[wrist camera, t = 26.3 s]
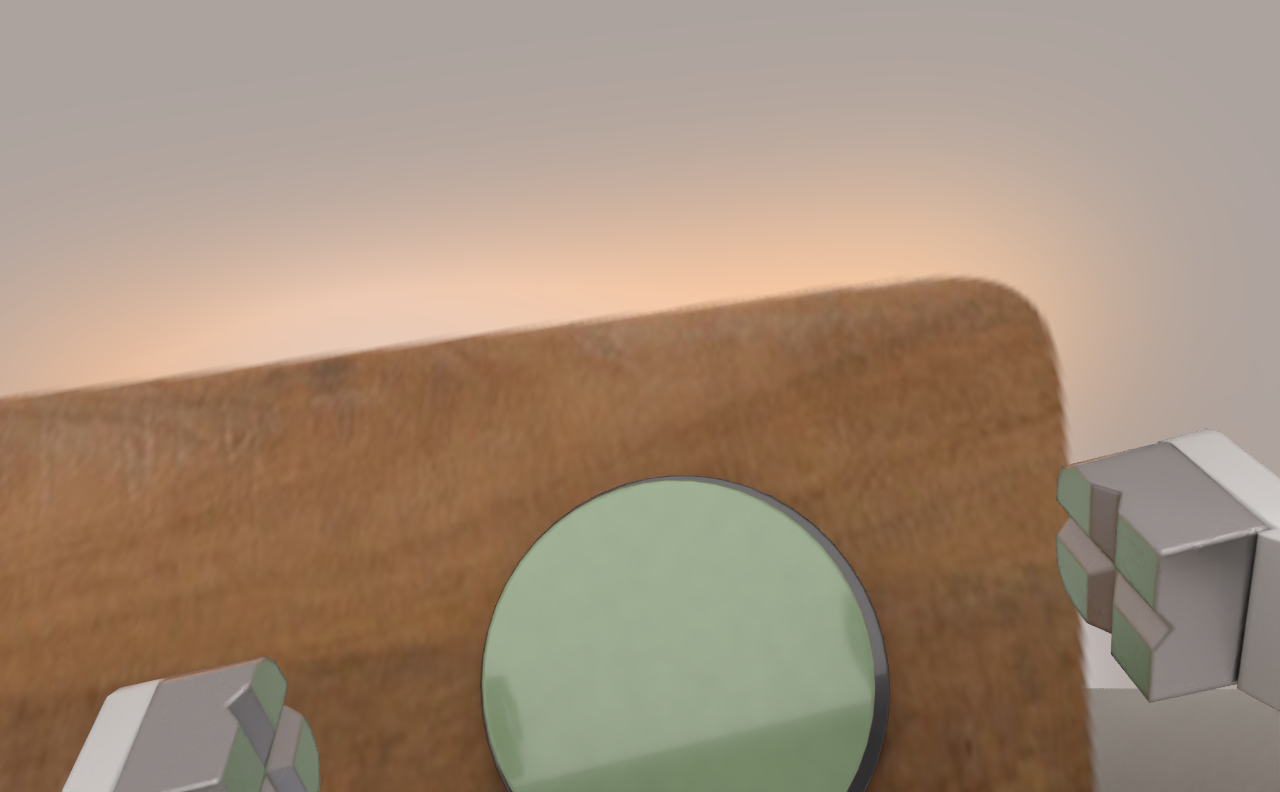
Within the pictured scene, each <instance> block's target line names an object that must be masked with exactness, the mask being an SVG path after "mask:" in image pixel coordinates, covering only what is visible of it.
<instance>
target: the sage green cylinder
mask: <svg viewBox="0 0 1280 792" xmlns="http://www.w3.org/2000/svg"><path fill="white" fill-rule="evenodd" d="M482 694H483V709H484V715H485V720H486V725H487V730H488V735H489V739H490V742H491V745H492V748H493V751H494V754H495V757H496V760H497V762H498V765H499V767H500V769H501V771H502V773H503V775H504V777H505V779H506V781H507V783H508V785H509V787H510V789H511V790H512V792H847V791H848V789H849V787H850V785H851V783H852V781H853V779H854V777H855V775H856V773H857V771H858V769H859V767H860V764H861V761H862V758H863V755H864V752H865V750H866V747H867V744H868V739H869V735H870V730H871V725H872V721H873V714H874V701H875V671H874V660H873V654H872V648H871V642H870V637H869V634H868V630H867V627H866V624H865V621H864V617H863V614H862V611H861V609H860V607H859V604H858V602H857V600H856V598H855V596H854V593H853V591H852V589H851V587H850V585H849V584H848V582H847V580H846V579H845V577H844V575H843V574H842V572H841V571H840V569H839V567H838V566H837V564H836V563H835V562H834V561H833V559H832V558H831V557H830V556H829V554H828V553H827V552H826V550H825V549H824V548H823V547H822V545H821V544H820V543H818V542H817V541H816V540H815V539H814V538H813V537H812V536H811V535H810V534H809V533H808V532H807V531H806V530H805V529H804V528H803V527H802V526H800V525H799V524H798V523H796V522H795V521H794V520H793V519H791V518H790V517H789V516H787V515H786V514H785V513H783V512H782V511H780V510H778V509H776V508H775V507H773V506H771V505H769V504H768V503H766V502H764V501H762V500H760V499H758V498H756V497H753V496H751V495H748V494H746V493H744V492H741V491H739V490H735V489H731V488H728V487H724V486H720V485H717V484H712V483H704V482H697V481H682V480H665V481H657V482H648V483H641V484H637V485H633V486H629V487H625V488H621V489H618V490H615V491H613V492H610V493H608V494H605V495H603V496H600V497H597V498H595V499H593V500H592V501H590V502H588V503H586V504H584V505H582V506H581V507H579V508H577V509H575V510H574V511H572V512H571V513H570V514H568V515H567V516H565V517H564V518H563V519H561V520H560V521H559V522H557V523H556V524H555V525H553V526H552V527H551V528H550V529H549V530H548V531H547V532H546V533H545V534H544V535H543V536H542V537H541V538H540V539H539V540H538V541H537V542H536V543H535V544H534V545H533V546H532V548H531V549H530V550H529V551H528V553H527V554H526V555H525V556H524V557H523V559H522V560H521V561H520V563H519V564H518V566H517V567H516V569H515V571H514V572H513V574H512V575H511V577H510V579H509V580H508V582H507V584H506V586H505V588H504V590H503V592H502V594H501V597H500V599H499V601H498V603H497V605H496V608H495V611H494V614H493V617H492V620H491V623H490V627H489V630H488V634H487V640H486V645H485V650H484V656H483V671H482Z"/></svg>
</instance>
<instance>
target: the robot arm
mask: <svg viewBox="0 0 1280 792" xmlns="http://www.w3.org/2000/svg"><path fill="white" fill-rule="evenodd" d="M1056 500H1057V501H1058V502H1059V504H1060V505H1061V506H1062V507H1063V508H1064V509H1065V511H1066V512H1067V513H1068V514H1069V515H1070V516H1069V517H1068V519H1067V520H1066V522H1065V523H1064V525H1063V526H1062V527H1061V529H1060V530H1059V532H1058V533H1057V535H1056V550H1057V564H1058V567H1059V571H1060V574H1061V578H1062V581H1063V585H1064V588H1065V590H1066V592H1067V594H1068V595H1069V597H1070V599H1071V601H1072V603H1073V605H1074V607H1075V608H1076V609H1077V611H1078V612H1079V613H1080V615H1081V616H1082V617H1083V619H1084V620H1085V621H1086V623H1088V624H1090V625H1093V626H1095V627H1097V628H1100V629H1102V630H1104V631H1106V632H1109V633H1111V634H1112V641H1111V655H1112V656H1113V657H1114V658H1115V660H1116V661H1117V662H1118V664H1119V665H1120V666H1121V667H1122V669H1123V670H1124V671H1125V672H1126V674H1127V675H1128V676H1129V677H1130V679H1131V680H1132V681H1133V682H1134V684H1135V685H1136V686H1137V688H1138V689H1139V690H1140V691H1141V693H1142V694H1143V695H1144V696H1145V698H1146V699H1147V700H1148V701H1149V703H1151V702H1155V701H1160V700H1165V699H1169V698H1174V697H1179V696H1183V695H1188V694H1193V693H1197V692H1202V691H1207V690H1211V689H1216V688H1221V687H1225V686H1230V685H1235V684H1237V688H1238V689H1239V690H1241V691H1243V692H1245V693H1247V694H1248V695H1250V696H1252V697H1254V698H1256V699H1258V700H1260V701H1261V702H1263V703H1265V704H1267V705H1269V706H1271V707H1273V708H1274V709H1276V710H1278V711H1280V478H1278V477H1277V476H1276V475H1275V474H1274V473H1272V472H1271V471H1270V470H1268V469H1267V468H1266V467H1264V466H1263V465H1262V464H1261V463H1259V462H1258V461H1257V460H1255V459H1254V458H1253V457H1252V456H1250V455H1249V454H1248V453H1246V452H1245V451H1244V450H1243V449H1241V448H1240V447H1239V446H1237V445H1236V444H1235V443H1233V442H1232V441H1231V440H1229V439H1228V438H1227V437H1226V436H1225V435H1223V434H1222V433H1220V432H1217V431H1214V430H1210V429H1204V430H1200V431H1196V432H1192V433H1189V434H1185V435H1181V436H1178V437H1174V438H1170V439H1166V440H1162V441H1159V442H1158V443H1157V444H1152V445H1148V446H1144V447H1140V448H1136V449H1132V450H1128V451H1123V452H1120V453H1115V454H1111V455H1107V456H1103V457H1099V458H1095V459H1091V460H1087V461H1083V462H1078V463H1074V464H1070V465H1066V466H1062V468H1061V470H1060V473H1059V476H1058V478H1057V499H1056ZM287 687H288V682H287V681H286V679H285V677H284V675H283V674H282V672H281V670H280V668H279V666H278V665H277V663H276V661H275V660H273V659H271V658H268V657H265V656H262V657H257V658H253V659H248V660H243V661H239V662H234V663H229V664H225V665H220V666H215V667H211V668H206V669H202V670H197V671H192V672H188V673H183V674H178V675H174V676H169V677H167V678H166V679H158V680H153V681H149V682H144V683H140V684H136V685H131V686H127V687H122V688H119V689H118V690H116V691H115V692H113V693H112V694H111V695H109V696H108V697H107V698H106V700H105V702H104V704H103V706H102V708H101V710H100V712H99V714H98V716H97V718H96V720H95V723H94V725H93V727H92V729H91V731H90V733H89V735H88V737H87V739H86V741H85V744H84V746H83V748H82V750H81V752H80V754H79V756H78V758H77V760H76V762H75V765H74V767H73V769H72V771H71V773H70V775H69V777H68V779H67V781H66V783H65V786H64V788H63V790H62V792H319V789H320V767H319V753H318V750H317V746H316V743H315V739H314V736H313V732H312V730H311V728H310V726H309V724H308V722H307V720H306V718H305V716H304V715H303V714H301V713H299V712H297V711H295V710H293V709H291V708H290V707H288V706H286V705H284V704H283V703H284V699H285V695H286V691H287Z"/></svg>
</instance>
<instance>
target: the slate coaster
mask: <svg viewBox="0 0 1280 792" xmlns="http://www.w3.org/2000/svg"><path fill="white" fill-rule="evenodd" d="M665 480H682V481H697V482H704V483H712V484H717V485H720V486H724V487H728V488H731V489H735V490H739V491H741V492H744V493H746V494H748V495H751V496H753V497H756V498H758V499H760V500H762V501H764V502H766V503H768V504H769V505H771V506H773V507H775V508H776V509H778V510H780V511H782V512H783V513H785V514H786V515H787V516H789V517H790V518H791V519H793V520H794V521H795V522H796V523H798V524H799V525H800V526H802V527H803V528H804V529H805V530H806V531H807V532H808V533H809V534H810V535H811V536H812V537H813V538H814V539H815V540H816V541H817V542H818V543H820V544H821V545H822V547H823V548H824V549H825V550H826V552H827V553H828V554H829V556H830V557H831V558H832V559H833V561H834V562H835V563H836V564H837V566H838V567H839V569H840V571H841V572H842V574H843V575H844V577H845V579H846V580H847V582H848V584H849V585H850V587H851V589H852V591H853V593H854V596H855V598H856V600H857V602H858V604H859V607H860V609H861V611H862V614H863V617H864V621H865V624H866V627H867V630H868V634H869V637H870V642H871V648H872V654H873V660H874V671H875V701H874V714H873V721H872V725H871V730H870V735H869V739H868V744H867V747H866V750H865V752H864V755H863V758H862V761H861V764H860V767H859V769H858V771H857V773H856V775H855V777H854V779H853V781H852V783H851V785H850V787H849V789H848V791H847V792H865V791H866V789H867V787H868V785H869V783H870V781H871V779H872V777H873V774H874V771H875V768H876V765H877V763H878V760H879V757H880V754H881V751H882V747H883V743H884V738H885V733H886V728H887V723H888V713H889V700H890V684H889V666H888V660H887V654H886V649H885V643H884V638H883V635H882V631H881V628H880V625H879V622H878V619H877V615H876V612H875V610H874V608H873V605H872V603H871V601H870V599H869V597H868V595H867V592H866V590H865V588H864V586H863V584H862V583H861V581H860V580H859V578H858V576H857V575H856V573H855V571H854V570H853V568H852V567H851V565H850V563H849V562H848V561H847V560H846V558H845V557H844V556H843V555H842V553H841V552H840V551H839V550H838V549H837V547H836V546H835V545H834V544H833V542H832V541H831V540H830V539H828V538H827V537H826V536H825V535H824V534H823V533H822V532H821V531H820V530H819V529H818V528H817V527H816V526H815V525H814V524H813V523H811V522H810V521H809V520H807V519H806V518H805V517H803V516H802V515H801V514H799V513H798V512H797V511H795V510H794V509H793V508H791V507H789V506H787V505H786V504H784V503H782V502H780V501H779V500H777V499H775V498H773V497H772V496H770V495H767V494H765V493H762V492H760V491H757V490H755V489H753V488H750V487H748V486H745V485H741V484H737V483H733V482H730V481H726V480H722V479H715V478H708V477H701V476H665V477H657V478H649V479H644V480H640V481H636V482H632V483H628V484H624V485H621V486H618V487H616V488H613V489H611V490H608V491H606V492H603V493H601V494H598V495H596V496H595V497H593V498H591V499H589V500H587V501H586V502H584V503H582V504H580V505H578V506H577V507H575V508H574V509H572V510H571V511H570V512H568V513H567V514H566V515H564V516H563V517H561V518H560V519H559V520H557V521H556V522H555V523H554V524H553V525H555V524H556V523H557V522H559V521H560V520H561V519H563V518H564V517H565V516H567V515H568V514H570V513H571V512H572V511H574V510H575V509H577V508H579V507H581V506H582V505H584V504H586V503H588V502H590V501H592V500H593V499H595V498H597V497H600V496H603V495H605V494H608V493H610V492H613V491H615V490H618V489H621V488H625V487H629V486H633V485H637V484H641V483H648V482H657V481H665ZM553 525H552V526H553ZM552 526H551V527H552ZM551 527H550V528H551ZM550 528H549V529H550ZM549 529H548V530H549ZM548 530H546V531H545V532H544V533H543V534H542V535H541V536H540V537H539V538H538V539H537V540H536V541H535V542H534V544H535V543H536V542H537V541H538V540H539V539H540V538H541V537H542V536H543V535H544V534H545V533H546V532H547V531H548ZM534 544H533V545H534ZM533 545H532V546H533ZM532 546H531V547H530V549H531V548H532ZM530 549H529V550H530ZM529 550H528V551H529ZM528 551H527V552H526V554H527V553H528ZM526 554H525V555H526ZM525 555H524V556H525ZM524 556H523V557H524ZM523 557H522V558H521V560H522V559H523ZM521 560H520V561H521ZM520 561H519V563H520ZM519 563H518V564H519ZM518 564H517V566H518ZM517 566H516V567H517ZM515 569H516V568H515ZM515 569H514V571H515ZM514 571H513V572H514ZM513 572H512V574H513ZM512 574H511V575H512ZM510 577H511V576H510ZM510 577H509V579H510ZM509 579H508V580H509ZM508 580H507V582H508ZM507 582H506V584H507ZM506 584H505V586H506ZM505 586H504V588H505ZM504 588H503V590H504ZM502 592H503V591H502ZM501 594H502V593H501ZM500 597H501V595H500ZM500 597H499V599H500ZM499 599H498V601H499ZM498 601H497V603H498ZM496 605H497V604H496ZM495 608H496V606H495ZM495 608H494V611H495ZM493 614H494V612H493ZM492 617H493V615H492ZM491 620H492V618H491ZM490 623H491V621H490ZM489 627H490V624H489ZM489 627H488V630H489ZM487 634H488V631H487ZM487 634H486V640H487ZM486 640H485V645H486ZM485 645H484V650H485ZM483 656H484V651H483ZM483 656H482V667H481V684H480V689H481V704H482V716H483V721H484V726H485V731H486V736H487V741H488V745H489V748H490V751H491V754H492V757H493V760H494V763H495V766H496V769H497V771H498V773H499V775H500V777H501V779H502V781H503V783H504V785H505V787H506V790H507V792H512V790H511V789H510V787H509V785H508V783H507V781H506V779H505V777H504V775H503V773H502V771H501V769H500V767H499V765H498V762H497V760H496V757H495V754H494V751H493V748H492V745H491V742H490V739H489V735H488V730H487V725H486V720H485V715H484V709H483V694H482V671H483Z"/></svg>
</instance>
